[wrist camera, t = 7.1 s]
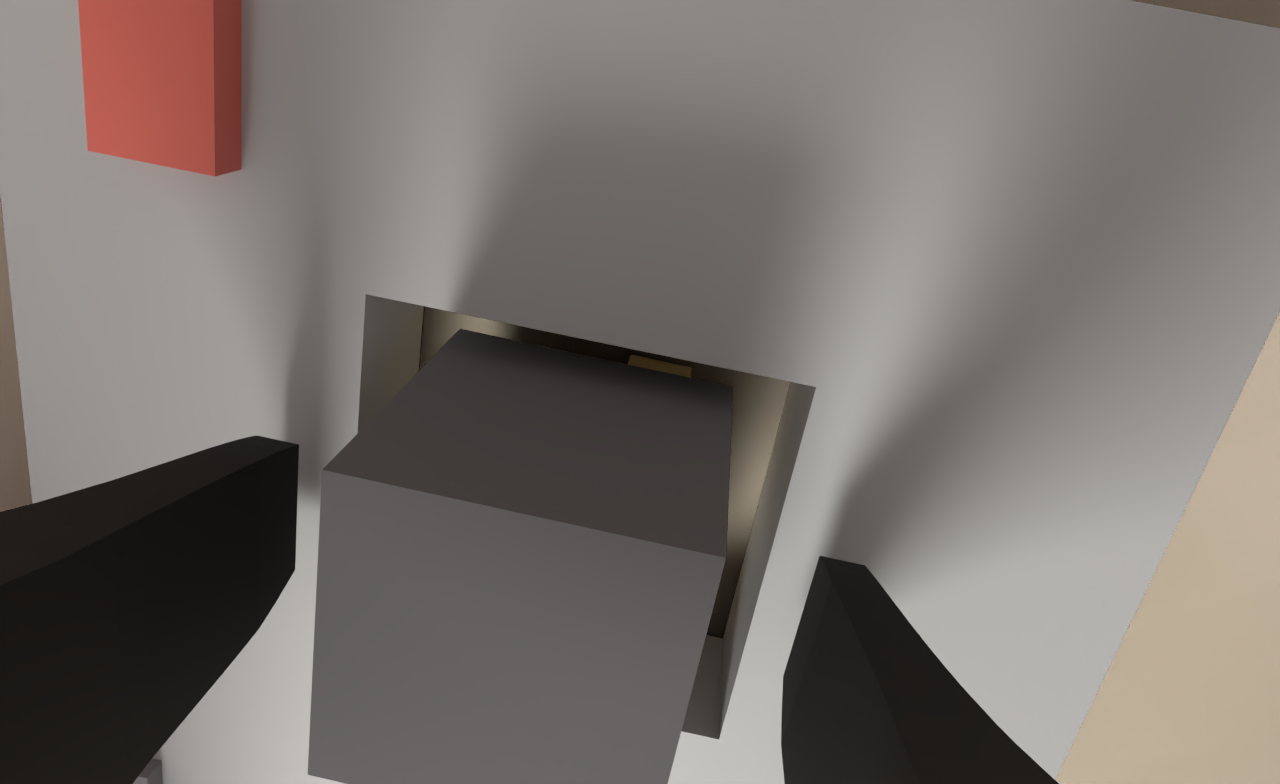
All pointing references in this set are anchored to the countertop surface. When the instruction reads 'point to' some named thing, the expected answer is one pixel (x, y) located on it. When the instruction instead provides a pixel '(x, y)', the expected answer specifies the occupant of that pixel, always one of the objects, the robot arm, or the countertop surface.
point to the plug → (519, 570)
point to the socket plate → (672, 286)
